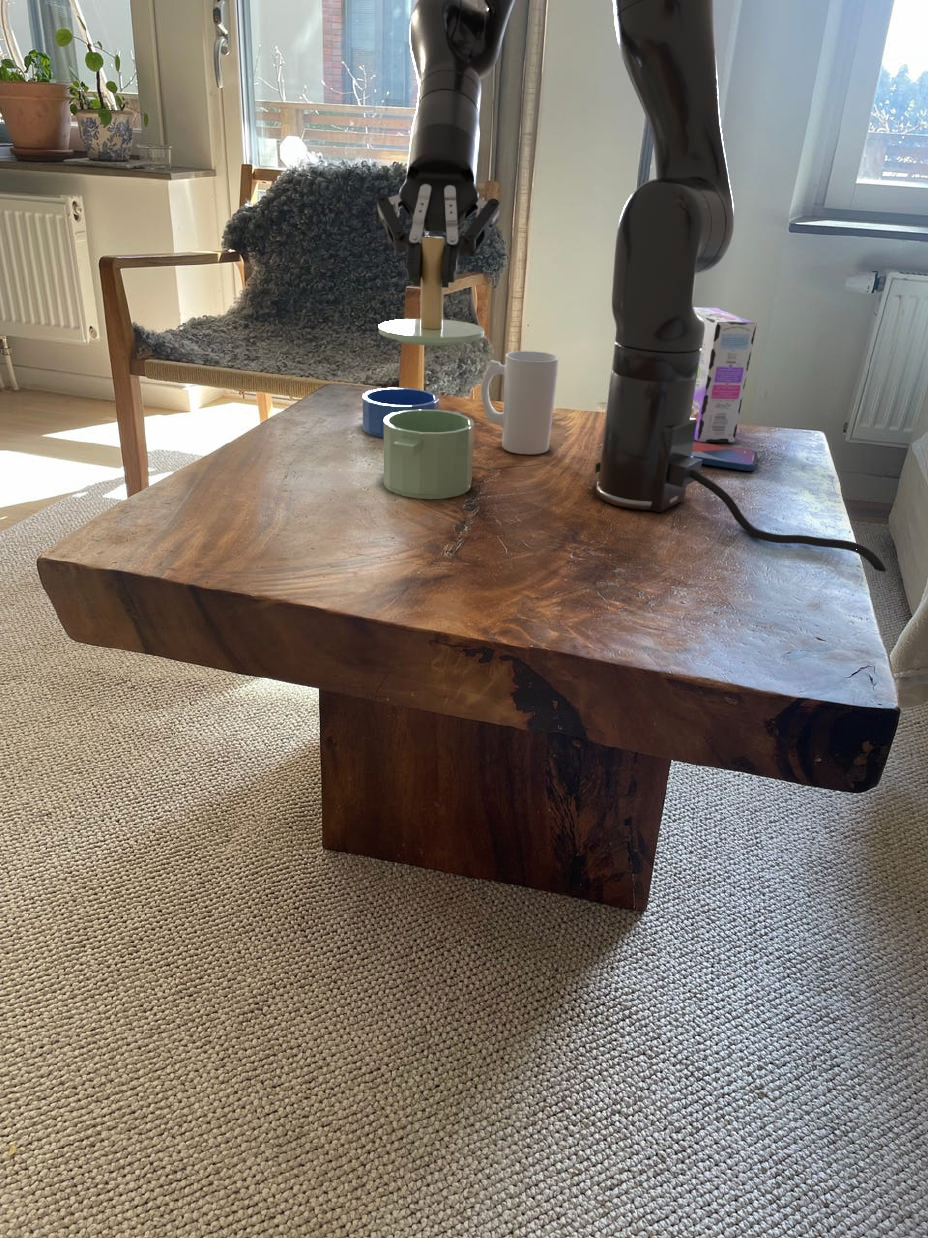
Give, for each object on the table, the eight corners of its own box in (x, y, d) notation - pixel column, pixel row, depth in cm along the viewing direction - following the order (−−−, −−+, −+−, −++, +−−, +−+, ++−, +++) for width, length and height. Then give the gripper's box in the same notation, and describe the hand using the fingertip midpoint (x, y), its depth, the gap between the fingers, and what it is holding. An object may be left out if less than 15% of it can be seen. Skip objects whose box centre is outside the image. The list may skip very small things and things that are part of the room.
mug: (556, 445, 120) (565, 354, 115) (542, 458, 115) (550, 363, 109) (487, 434, 123) (491, 346, 118) (469, 447, 118) (474, 354, 112)
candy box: (736, 443, 125) (759, 322, 117) (696, 443, 124) (717, 321, 116) (700, 417, 137) (718, 305, 129) (663, 417, 136) (680, 304, 128)
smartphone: (753, 473, 113) (755, 465, 113) (636, 455, 117) (637, 447, 116) (755, 458, 119) (757, 450, 119) (644, 441, 123) (645, 433, 123)
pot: (488, 471, 109) (492, 410, 106) (445, 512, 96) (448, 444, 93) (411, 459, 112) (412, 400, 108) (359, 498, 99) (358, 432, 95)
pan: (452, 429, 125) (453, 397, 123) (402, 444, 118) (403, 410, 116) (398, 415, 131) (398, 384, 129) (347, 428, 123) (346, 395, 121)
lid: (496, 335, 100) (501, 237, 95) (463, 353, 90) (467, 244, 85) (402, 326, 103) (403, 230, 98) (361, 342, 93) (359, 236, 88)
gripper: (377, 117, 94) (359, 253, 88) (508, 122, 93) (498, 259, 88) (384, 173, 101) (368, 301, 96) (506, 178, 100) (497, 308, 95)
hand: (430, 281), depth 92 cm, fingers closed on lid, 2 cm apart
